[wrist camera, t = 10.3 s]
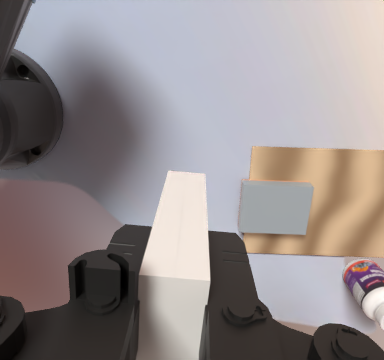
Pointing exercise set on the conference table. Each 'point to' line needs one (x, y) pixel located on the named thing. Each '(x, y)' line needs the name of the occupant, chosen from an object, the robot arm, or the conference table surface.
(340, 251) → the mat
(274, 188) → the tile
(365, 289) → the pill bottle
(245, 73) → the conference table surface
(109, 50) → the conference table surface
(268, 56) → the conference table surface
